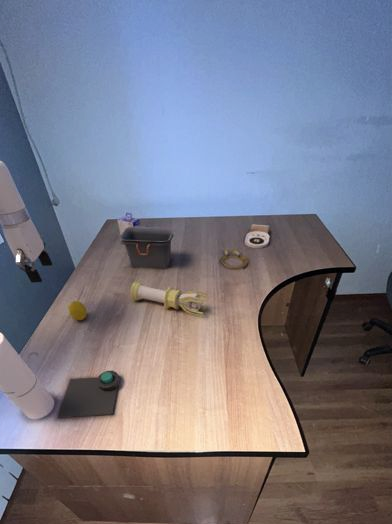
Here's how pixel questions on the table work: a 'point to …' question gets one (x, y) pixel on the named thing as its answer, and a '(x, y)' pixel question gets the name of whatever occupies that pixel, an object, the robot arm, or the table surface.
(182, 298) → the trophy
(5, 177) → the robot arm
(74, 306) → the lemon
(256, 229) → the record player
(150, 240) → the storage bin
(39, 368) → the table surface
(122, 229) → the white purple upright piece
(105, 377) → the scale button
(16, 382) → the cylindrical container
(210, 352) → the table surface
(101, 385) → the scale
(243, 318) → the table surface
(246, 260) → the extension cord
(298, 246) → the table surface
